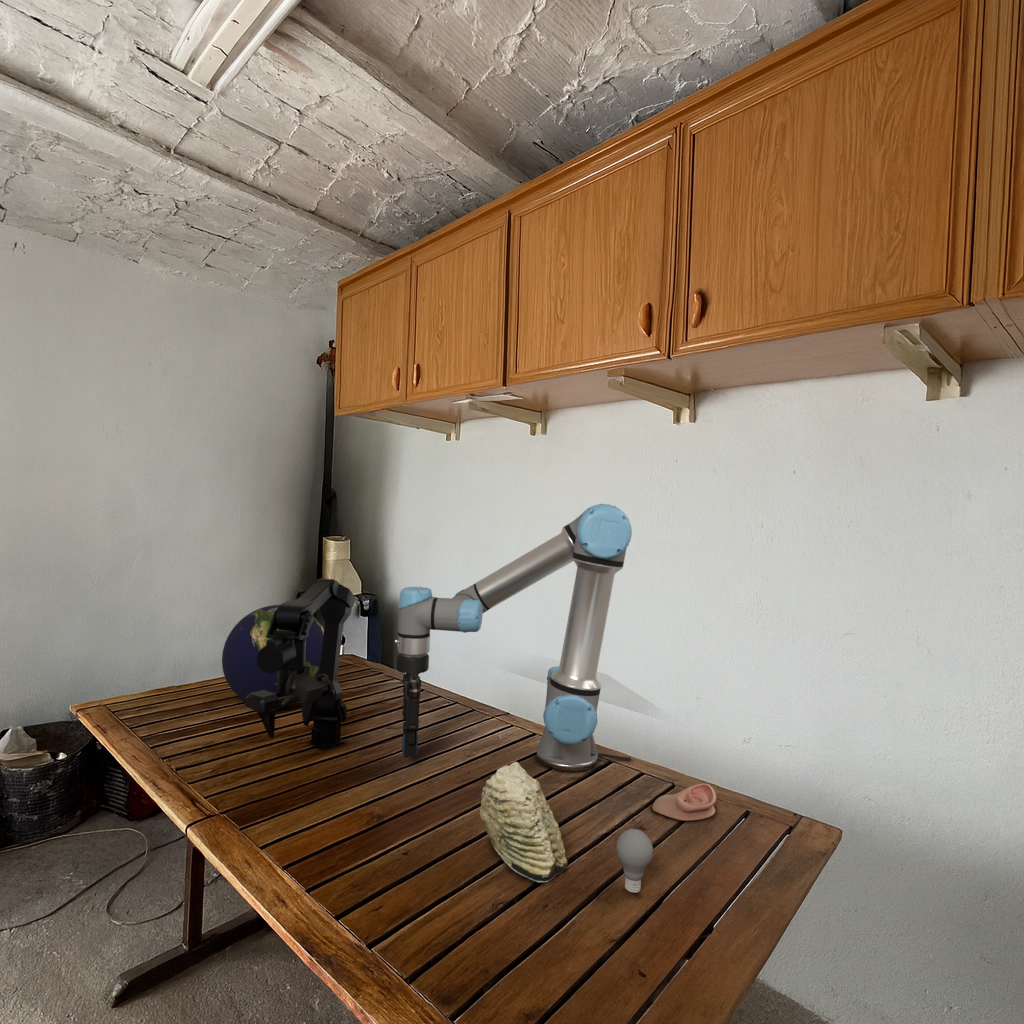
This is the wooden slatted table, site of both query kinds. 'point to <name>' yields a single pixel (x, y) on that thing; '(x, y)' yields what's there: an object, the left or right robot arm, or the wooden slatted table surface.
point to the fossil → (522, 824)
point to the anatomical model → (687, 803)
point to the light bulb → (634, 857)
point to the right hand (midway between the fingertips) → (409, 752)
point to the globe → (245, 649)
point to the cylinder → (416, 744)
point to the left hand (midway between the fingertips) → (289, 731)
